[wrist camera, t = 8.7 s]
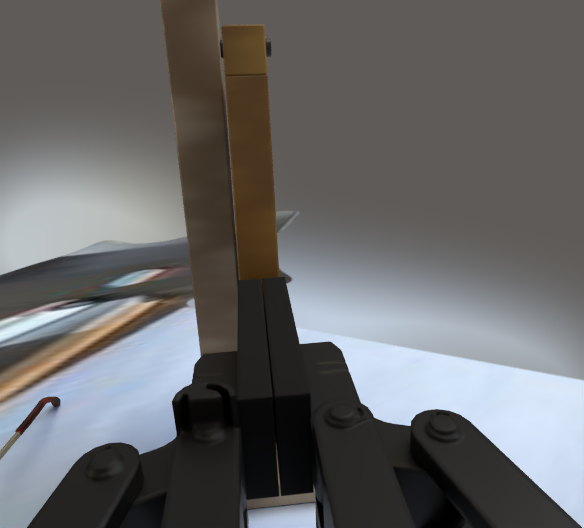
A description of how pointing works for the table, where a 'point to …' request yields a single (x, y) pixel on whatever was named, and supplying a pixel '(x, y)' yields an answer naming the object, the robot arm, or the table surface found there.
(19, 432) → the sunglasses
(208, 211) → the post
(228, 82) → the picture frame
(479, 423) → the table surface
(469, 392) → the table surface
